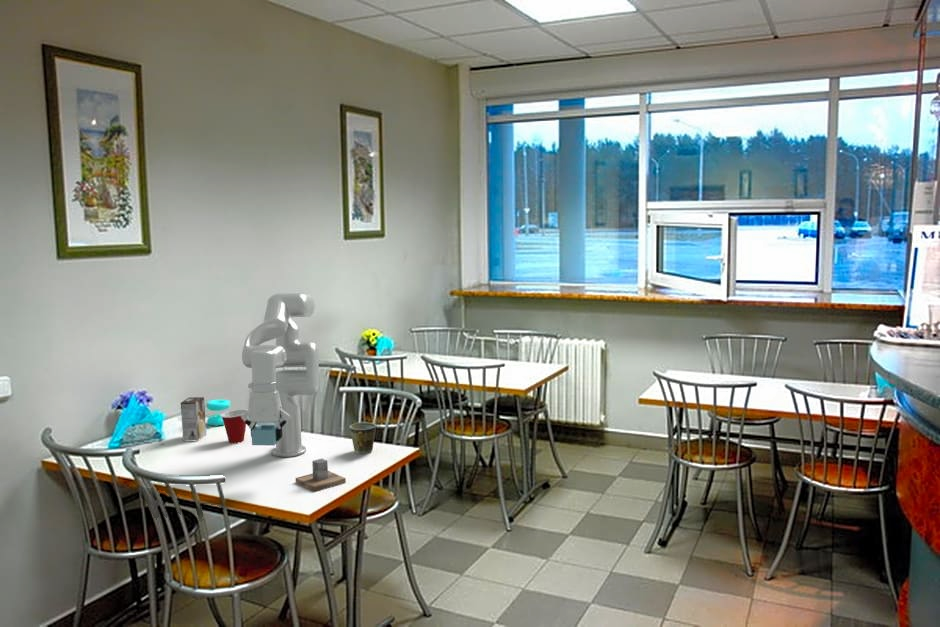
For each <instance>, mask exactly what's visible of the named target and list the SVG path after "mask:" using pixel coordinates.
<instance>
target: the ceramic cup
mask: <svg viewBox="0 0 940 627" xmlns="http://www.w3.org/2000/svg"><path fill="white" fill-rule="evenodd" d="M376 430H377V424H375V423H372V422H366V421H365V422H356V423H353V424H351V425H349V431H350V437H351V441H352V446H353V450H354V453H355V452H356V454H358V453H359V454H358V455H366V453H367V454H371V453H372V451H373V448H374V442H375V435H376V432H377V431H376Z"/></svg>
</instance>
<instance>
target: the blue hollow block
mask: <svg viewBox="0 0 940 627" xmlns="http://www.w3.org/2000/svg"><path fill="white" fill-rule="evenodd" d="M276 429H277V427H276V425H275V423H272V424H271V423H269V424H268V423H258V424H256V427H255V428H254V429H252V430H251V429H250V434H251V433H252V437H251V446H273V447H274V446H276V443H278V442H279V441H280V440H281V439H280V440H279V441H277V440H276Z"/></svg>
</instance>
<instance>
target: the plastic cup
mask: <svg viewBox="0 0 940 627" xmlns="http://www.w3.org/2000/svg"><path fill="white" fill-rule="evenodd" d="M247 411H248V409H235V410H229V411H225V412H223V413H220V414H221V415H220V416H221V417H222V419H223V422H224V425H223V426H224V429H225V433H226V435H227V440H228V441H227V442H228V443H229V442H230V444H239V443H238V442H240V443H243V442H244V440H245V436H246V428H247V424H246V423H245V421H244V420H243V419H242V418H241V416H242V415H243V414H244V413H246V412H247ZM242 441H243V442H242Z"/></svg>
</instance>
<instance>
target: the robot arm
mask: <svg viewBox="0 0 940 627" xmlns="http://www.w3.org/2000/svg"><path fill="white" fill-rule="evenodd" d="M266 304H267V305H266V307H265V313H264V317H263V321H262V323H260V324H259V325H258V326H256V327H255V328H253V330H251V331H250V332H249V333H248V334H247V335H246V338H245V340H244V343H243V348H242V353H241V361H242V364H243V365H244V366H245V367H246V368H250V369H251V377H252V378H251V379H252V382H251V383H248V386H247V387H248V388H250V389H251V391H250V392H249V398H248V409H247V410H248V411H247V412H246V413H244V414H243V415H242V416H241V418H242V419H243V420H244V421H245V423H246V426H248V428H249V429H250V431H251V430H252V429H254V428H255V427H256V426H257V424H268V423H269V424H271V423H272V424H275V425H276V427H277V429H276V440H277V441H279V440H280V439H281V440H280V441H279V442H278V443H276V444H275V447H274V448H273V449H272V450H271V455H272V456H275V457H280V458H291V457H297V456H301V455H303V454H304V453H306V451H307V448H306V446H304V445H303V444H302V424H301V423H302V421H301V420H302V419H301V407H300V406H301V405H300V402H298V400H297V399H296V398H295V397H294V396H314V395H315V394H317V392H318V390H319V379H320V378H319V370H320V368H319V367H320V366H319V365H320V361H319V360H320V355H319V354H320V353H319V348H318V345H317V344H316V343H315V342H313V341H300V329H299V327H298V325H297V324H296V322H295V321H294V320H293V319H292V318H310V317H311V316H313V314H314V313H315V300H314V298H313V296H312V295H310V294H307V293H302V292H301V293H298V292H297V293H294V292H293V293H291V292H289V293H276V294H273V295H271V296H270V297H269V298H268V299H267V303H266ZM274 339H275V344H274V345H268V344H267V345H263V343H265V342H269V341H271V340H274ZM281 367H285V368H291V367H292V368H293V367H294V368H296V367H297V368H298V367H299V368H301V367H303V368H305V369H284V370H277V371H276V369H277V368H281ZM250 437H251V438H252V433H251V432H250Z"/></svg>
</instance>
